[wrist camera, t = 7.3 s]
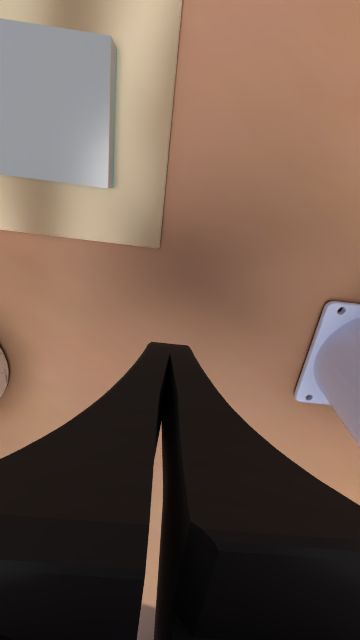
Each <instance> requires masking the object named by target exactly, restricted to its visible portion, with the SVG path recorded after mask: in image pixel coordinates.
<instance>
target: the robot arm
mask: <svg viewBox="0 0 360 640" xmlns="http://www.w3.org/2000/svg"><path fill="white" fill-rule="evenodd" d="M341 307H343V309H342V311H340V312H337V311H338V309H339V308H341ZM307 395H310V396H308V397H306V396H307ZM294 396H295V398H296V400H297V401H299V402H307V403H317V404H327V405H331V406H332V407H333V409H334V410H335V412H336V413H337V415H338V416H339V418H340V419H341V421H342V422H343V424H344V425H345V427H346V428H347V430H348V431H349V432H350V434H351V435H352V437H353V438H354V440H355V441H356V443H357V444H358V446H359V447H360V304H356V303H347V302H339V301H330V302H328V303H327V304H326V305H325V307H324V309H323V312H322V315H321V318H320V321H319V323H318V326H317V329H316V332H315V335H314V338H313V341H312V344H311V347H310V349H309V352H308V355H307V358H306V361H305V364H304V367H303V370H302V373H301V375H300V378H299V381H298V384H297V387H296V390H295V393H294ZM161 421H162V459H163V508H162V524H161V540H160V556H159V571H158V586H157V600H156V615H155V630H154V640H360V505H358V504H356V503H355V502H353V501H352V500H350V499H348V498H347V497H345V496H344V495H342V494H340V493H339V492H337V491H336V490H334V489H333V488H331V487H329V486H328V485H326V484H325V483H323V482H321V481H320V480H318V479H317V478H315V477H314V476H312V475H311V474H310V473H308V472H307V471H305V470H304V469H303V468H301V467H300V466H298V465H297V464H296V463H294V462H293V461H292V460H290V459H289V458H288V457H286V456H285V455H284V454H282V453H281V452H280V451H279V450H277V449H276V448H275V447H273V446H272V445H271V444H270V443H269V442H268V441H266V440H265V439H264V438H263V437H262V436H261V435H259V434H258V433H257V432H256V431H255V430H254V429H253V428H252V427H250V426H249V425H248V424H247V423H246V422H245V421H244V420H243V419H242V418H241V417H240V416H239V415H238V414H237V413H236V412H235V411H234V410H233V409H232V408H231V406H230V405H229V404H228V403H227V402H226V401H225V399H224V398H223V397H222V396H221V394H220V393H219V392H218V391H217V389H216V388H215V387H214V385H213V384H212V382H211V381H210V380H209V378H208V377H207V375H206V374H205V372H204V371H203V369H202V368H201V366H200V364H199V363H198V361H197V359H196V358H195V356H194V354H193V352H192V350H191V349H190V347H189V346H186V345H176V344H167V343H157V342H151V343H149V344H148V345H147V347H146V349H145V351H144V352H143V353H142V355H141V356H140V357H139V359H138V360H137V361H136V362H135V364H134V365H133V366H132V367H131V368H130V369H129V371H128V372H127V373H126V374H125V375H124V376H123V377H122V378H121V379H120V380H119V381H118V382H117V383H116V384H115V385H114V386H113V387H112V388H111V389H110V390H109V391H108V392H107V393H105V394H104V395H103V396H102V397H101V398H100V399H98V400H97V401H96V402H95V403H93V404H92V405H91V406H90V407H88V408H87V409H86V410H84V411H83V412H81V413H80V414H79V415H77V416H76V417H74V418H73V419H72V420H70V421H69V422H67V423H66V424H64V425H63V426H61V427H59V428H58V429H56V430H54V431H53V432H51V433H49V434H48V435H46V436H44V437H42V438H41V439H39V440H37V441H35V442H33V443H31V444H29V445H28V446H26V447H24V448H22V449H20V450H18V451H16V452H14V453H12V454H10V455H8V456H6V457H3V458H1V459H0V640H137V632H138V625H139V617H140V610H141V602H142V594H143V587H144V579H145V569H146V557H147V546H148V534H149V522H150V507H151V493H152V479H153V465H154V458H155V453H156V447H157V442H158V437H159V431H160V426H161Z"/></svg>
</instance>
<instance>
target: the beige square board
mask: <svg viewBox="0 0 360 640" xmlns="http://www.w3.org/2000/svg"><path fill="white" fill-rule="evenodd" d="M181 11H182V0H0V18H2V19H8V20H15V21H21V22H27V23H34V24H40V25H46V26H53V27H59V28H65V29H72V30H78V31H85V32H91V33H97V34H104V35H110V36H111V37H112V39H113V41H114V43H115V45H116V47H117V76H116V114H115V152H114V188H101V187H93V186H85V185H77V184H70V183H62V182H54V181H47V180H39V179H31V178H24V177H16V176H8V175H1V174H0V229H1V230H9V231H17V232H25V233H34V234H42V235H50V236H59V237H67V238H75V239H83V240H92V241H100V242H108V243H116V244H125V245H133V246H141V247H150V248H158V249H159V248H160V239H161V228H162V218H163V207H164V196H165V185H166V174H167V163H168V152H169V142H170V131H171V120H172V109H173V98H174V87H175V76H176V65H177V55H178V44H179V33H180V22H181Z"/></svg>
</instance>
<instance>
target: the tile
mask: <svg viewBox="0 0 360 640" xmlns="http://www.w3.org/2000/svg"><path fill="white" fill-rule="evenodd" d="M116 76H117V47H116V45H115V43H114V41H113V39H112V37H111V36H110V35H104V34H97V33H91V32H85V31H78V30H72V29H65V28H59V27H53V26H46V25H40V24H34V23H27V22H21V21H15V20H8V19H2V18H0V174H1V175H8V176H16V177H24V178H31V179H39V180H47V181H54V182H62V183H70V184H77V185H85V186H93V187H101V188H114V152H115V114H116Z"/></svg>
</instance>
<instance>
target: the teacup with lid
mask: <svg viewBox="0 0 360 640" xmlns="http://www.w3.org/2000/svg"><path fill="white" fill-rule="evenodd" d="M8 375H9V372H8V365H7V361H6V358H5V356H4V354H3V351H2V350H1V348H0V397H1V396H2V394H3V393H4V391H5V389H6V386H7V383H8Z"/></svg>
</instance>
